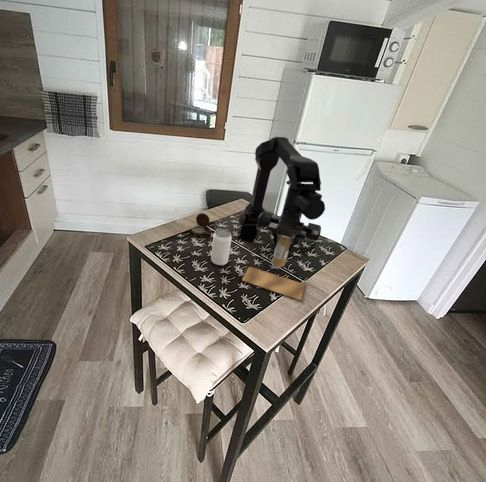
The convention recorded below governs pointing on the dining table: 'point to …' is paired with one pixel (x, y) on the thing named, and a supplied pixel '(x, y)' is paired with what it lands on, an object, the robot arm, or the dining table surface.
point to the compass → (201, 224)
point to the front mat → (274, 283)
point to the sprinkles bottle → (281, 250)
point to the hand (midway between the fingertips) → (282, 248)
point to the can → (221, 247)
